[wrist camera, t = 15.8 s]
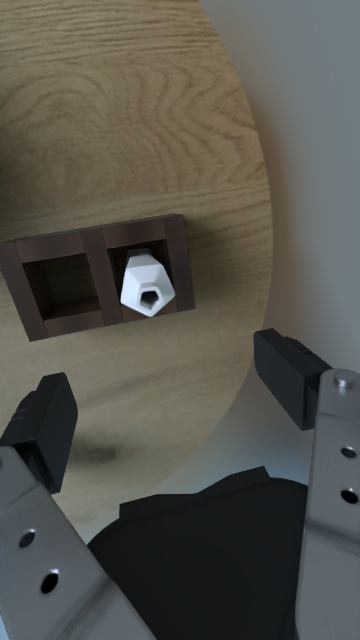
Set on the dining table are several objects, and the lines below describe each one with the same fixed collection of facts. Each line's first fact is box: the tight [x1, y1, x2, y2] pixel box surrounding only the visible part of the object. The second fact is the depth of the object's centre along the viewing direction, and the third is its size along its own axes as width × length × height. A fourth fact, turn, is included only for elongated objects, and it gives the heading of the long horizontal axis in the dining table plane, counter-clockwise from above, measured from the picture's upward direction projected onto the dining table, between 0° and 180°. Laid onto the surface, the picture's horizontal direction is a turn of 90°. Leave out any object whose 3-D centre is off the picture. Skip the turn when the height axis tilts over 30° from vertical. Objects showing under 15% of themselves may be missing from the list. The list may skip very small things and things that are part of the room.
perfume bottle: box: [121, 248, 175, 317], centre depth 27 cm, size 5×4×15 cm
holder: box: [0, 214, 195, 342], centre depth 31 cm, size 18×10×6 cm, turn 98°
